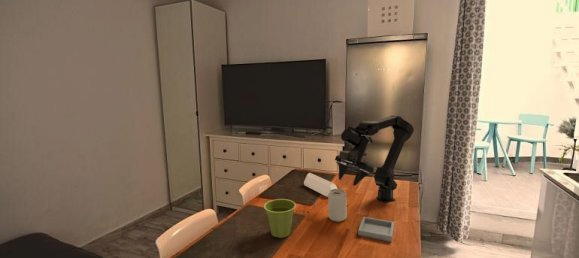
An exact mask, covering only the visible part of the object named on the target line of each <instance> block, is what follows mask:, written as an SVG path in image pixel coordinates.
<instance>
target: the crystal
mask: <svg viewBox="0 0 579 258" xmlns="http://www.w3.org/2000/svg"><path fill="white" fill-rule="evenodd" d="M303 185H304V186H305V187H307V188H309V189H311V190H313V191H315V192H316V193H319V194H321V195H323V196H324V197H326V198H328V194H329V193H330V190H332V189H338V187H337V185H336V184H335V183H333V182H332V181H329V180H327V179H325V178H322V177H320V176H318V175H315V174H313V173H312V172H309V173H307V175H306V176H305V179H304V181H303Z"/></svg>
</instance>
